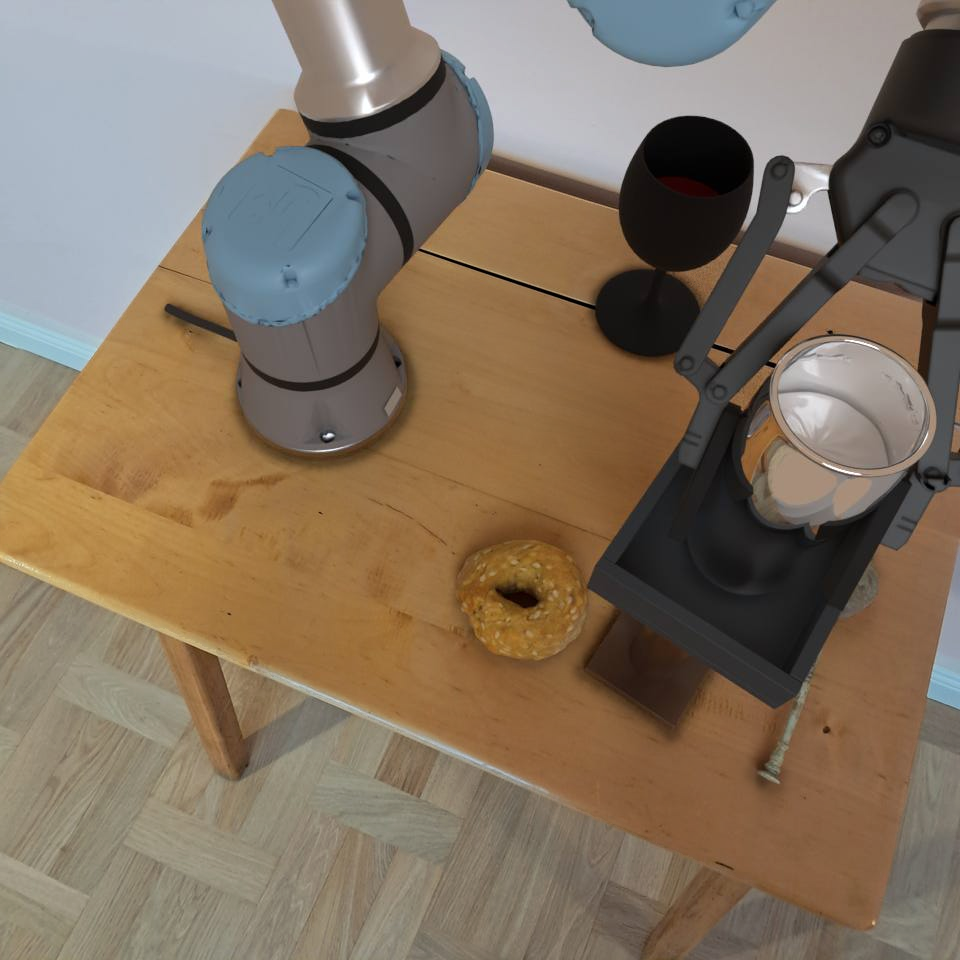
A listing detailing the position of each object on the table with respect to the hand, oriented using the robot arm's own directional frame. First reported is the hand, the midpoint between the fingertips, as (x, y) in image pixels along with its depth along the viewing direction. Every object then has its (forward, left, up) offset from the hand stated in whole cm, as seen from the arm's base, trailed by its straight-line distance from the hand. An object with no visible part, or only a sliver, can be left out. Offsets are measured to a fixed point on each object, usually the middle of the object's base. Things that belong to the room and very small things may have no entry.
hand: (753, 562), depth 41 cm
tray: (-1, +3, -7) cm, 8 cm away
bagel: (-12, +1, -30) cm, 32 cm away
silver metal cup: (-1, +3, -6) cm, 7 cm away
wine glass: (-18, +33, -30) cm, 48 cm away
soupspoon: (+9, +11, -30) cm, 34 cm away
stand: (-1, +3, -30) cm, 30 cm away
